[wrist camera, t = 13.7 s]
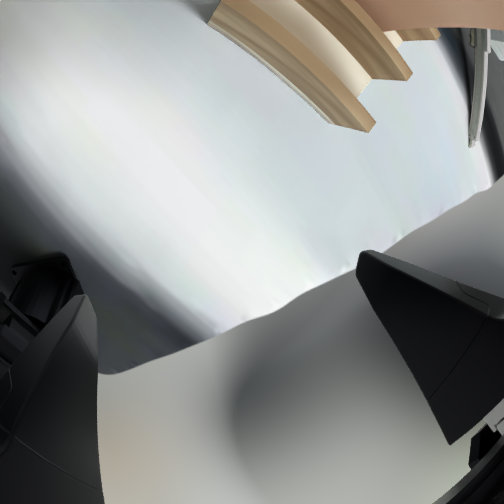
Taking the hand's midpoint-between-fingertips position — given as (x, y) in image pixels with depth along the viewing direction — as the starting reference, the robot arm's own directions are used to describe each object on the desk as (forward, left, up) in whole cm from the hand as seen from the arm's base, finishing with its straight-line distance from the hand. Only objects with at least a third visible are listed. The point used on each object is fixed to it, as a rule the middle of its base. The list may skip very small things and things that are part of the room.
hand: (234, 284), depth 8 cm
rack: (+11, +14, -13) cm, 23 cm away
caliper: (+31, +14, -14) cm, 37 cm away
